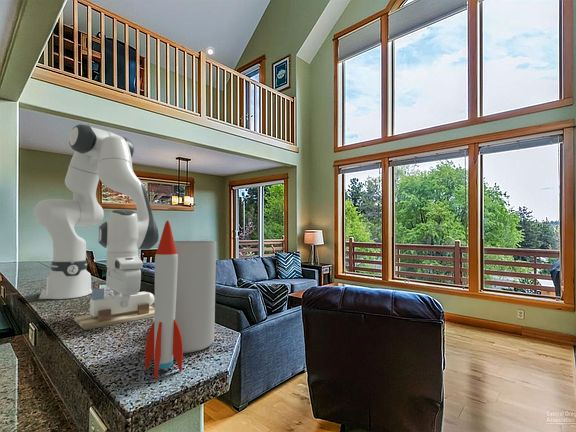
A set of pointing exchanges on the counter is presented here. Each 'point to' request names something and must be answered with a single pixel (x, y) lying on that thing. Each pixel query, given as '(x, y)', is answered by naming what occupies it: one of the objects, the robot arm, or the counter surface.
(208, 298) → the cylinder vase
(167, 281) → the toy rocket
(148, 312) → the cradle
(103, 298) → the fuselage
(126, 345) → the counter surface
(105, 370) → the counter surface
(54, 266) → the robot arm
